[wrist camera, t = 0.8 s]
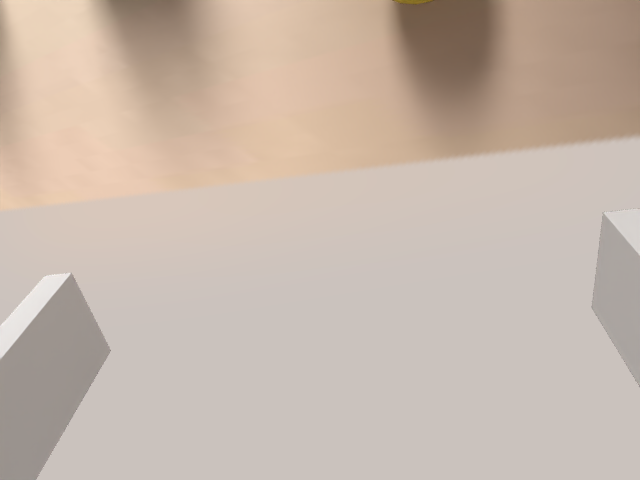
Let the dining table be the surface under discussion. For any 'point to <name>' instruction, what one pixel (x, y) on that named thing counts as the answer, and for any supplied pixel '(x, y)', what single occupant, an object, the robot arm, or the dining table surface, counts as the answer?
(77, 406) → the robot arm
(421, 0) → the lemon
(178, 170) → the dining table surface
